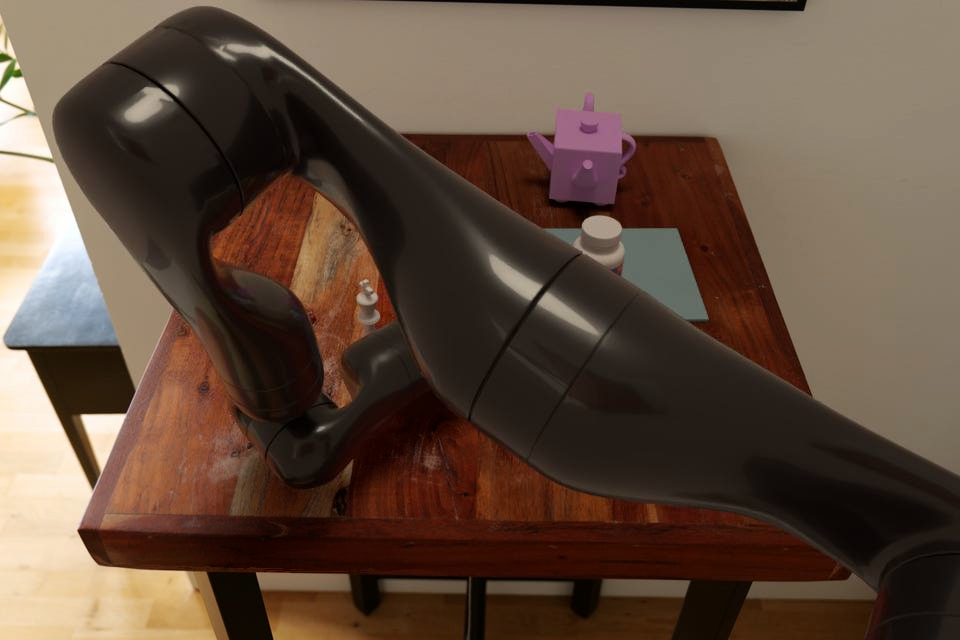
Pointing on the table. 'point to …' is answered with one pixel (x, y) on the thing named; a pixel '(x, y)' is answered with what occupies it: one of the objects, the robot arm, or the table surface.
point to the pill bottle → (602, 242)
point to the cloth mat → (656, 268)
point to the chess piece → (367, 307)
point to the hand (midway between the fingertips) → (576, 259)
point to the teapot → (585, 154)
